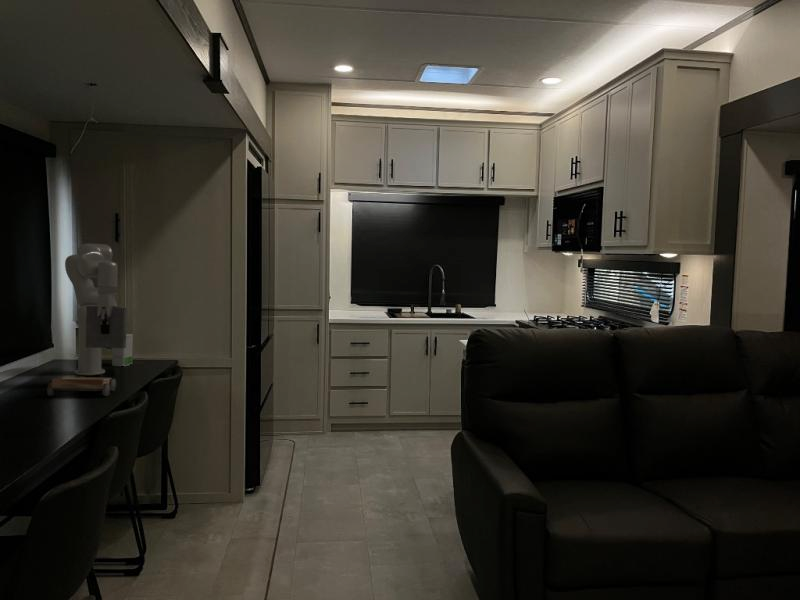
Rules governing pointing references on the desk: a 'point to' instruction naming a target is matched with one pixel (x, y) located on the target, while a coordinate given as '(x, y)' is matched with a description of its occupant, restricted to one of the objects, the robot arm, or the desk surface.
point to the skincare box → (123, 353)
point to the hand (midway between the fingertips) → (106, 332)
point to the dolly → (82, 385)
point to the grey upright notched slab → (116, 328)
